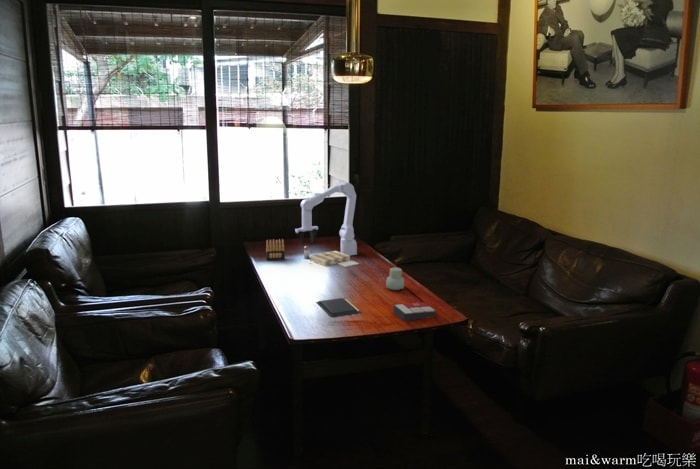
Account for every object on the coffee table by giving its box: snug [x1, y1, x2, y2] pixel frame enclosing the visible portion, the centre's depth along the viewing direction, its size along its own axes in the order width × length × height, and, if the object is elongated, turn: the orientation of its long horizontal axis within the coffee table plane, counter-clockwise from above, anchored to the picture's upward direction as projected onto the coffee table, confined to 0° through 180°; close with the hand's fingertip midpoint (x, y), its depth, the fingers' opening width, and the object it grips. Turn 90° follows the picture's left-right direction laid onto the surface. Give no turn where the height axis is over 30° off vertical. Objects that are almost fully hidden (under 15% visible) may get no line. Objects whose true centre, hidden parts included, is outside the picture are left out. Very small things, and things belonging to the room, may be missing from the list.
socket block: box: [309, 250, 351, 267], centre depth 309 cm, size 18×14×3 cm
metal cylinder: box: [303, 245, 311, 260], centre depth 313 cm, size 3×3×7 cm
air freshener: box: [385, 267, 405, 291], centre depth 262 cm, size 11×8×10 cm
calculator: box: [393, 301, 437, 322], centre depth 230 cm, size 11×4×15 cm
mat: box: [337, 259, 360, 268], centre depth 302 cm, size 10×7×1 cm
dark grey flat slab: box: [315, 297, 363, 318], centre depth 237 cm, size 20×2×15 cm
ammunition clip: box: [265, 238, 286, 261], centre depth 309 cm, size 11×2×12 cm, turn 102°
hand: (306, 243), depth 311 cm, fingers open, 7 cm apart
